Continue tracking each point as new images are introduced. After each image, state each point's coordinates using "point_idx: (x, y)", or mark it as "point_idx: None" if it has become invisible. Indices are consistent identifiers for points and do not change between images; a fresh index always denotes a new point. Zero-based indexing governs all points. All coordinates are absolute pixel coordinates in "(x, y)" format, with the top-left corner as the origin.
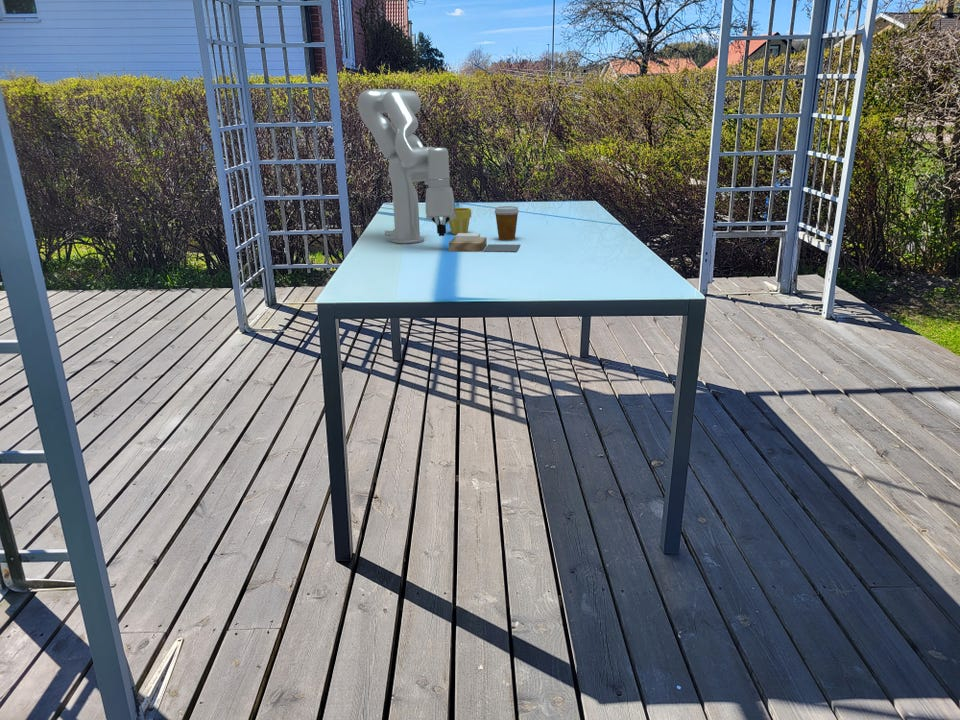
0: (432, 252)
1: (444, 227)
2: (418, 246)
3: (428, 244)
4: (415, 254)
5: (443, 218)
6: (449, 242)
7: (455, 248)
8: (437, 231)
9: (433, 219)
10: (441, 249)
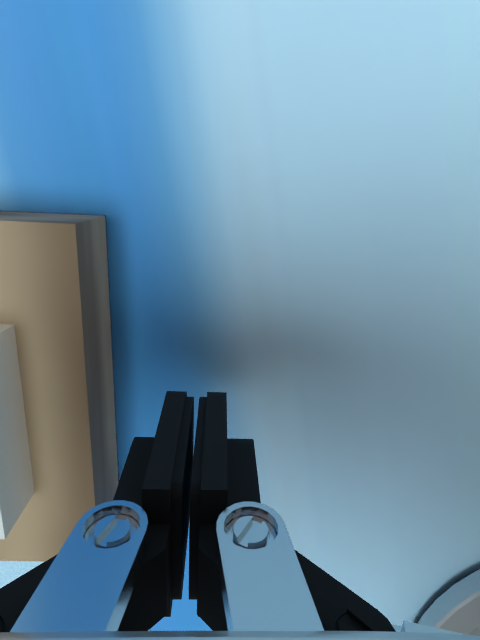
0: (272, 153)
1: (126, 488)
2: (436, 453)
3: (355, 533)
4: (452, 26)
5: (79, 630)
6: (73, 254)
7: (20, 213)
8: (249, 448)
9: (349, 623)
10: (204, 318)
